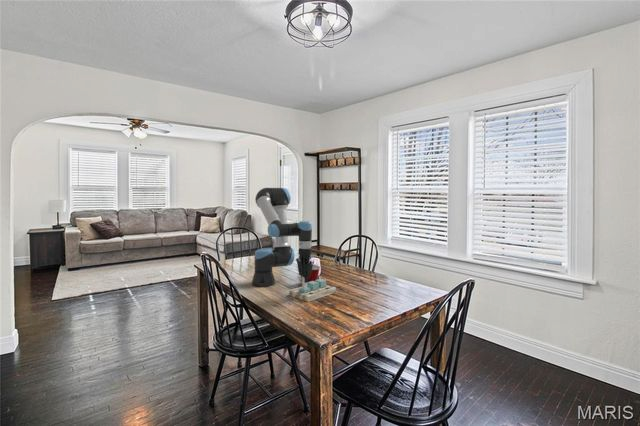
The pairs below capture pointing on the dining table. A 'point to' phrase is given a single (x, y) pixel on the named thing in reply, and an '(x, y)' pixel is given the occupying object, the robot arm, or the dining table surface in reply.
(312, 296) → the board
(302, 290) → the button
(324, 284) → the button
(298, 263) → the robot arm
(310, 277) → the plastic cup
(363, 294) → the dining table surface
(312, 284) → the button
